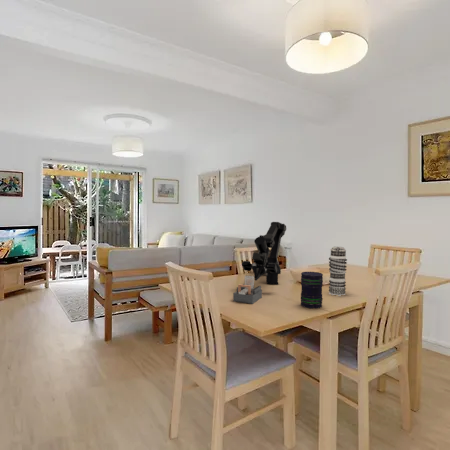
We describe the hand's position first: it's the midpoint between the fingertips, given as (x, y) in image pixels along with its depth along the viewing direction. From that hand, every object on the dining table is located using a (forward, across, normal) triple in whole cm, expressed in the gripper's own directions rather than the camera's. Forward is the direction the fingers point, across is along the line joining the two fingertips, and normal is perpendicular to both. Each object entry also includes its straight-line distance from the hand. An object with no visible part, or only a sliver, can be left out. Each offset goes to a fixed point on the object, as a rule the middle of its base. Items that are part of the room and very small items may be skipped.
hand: (255, 280), depth 172 cm
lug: (+13, 0, -8) cm, 15 cm away
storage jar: (+10, +30, +1) cm, 32 cm away
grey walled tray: (+13, 0, -2) cm, 13 cm away
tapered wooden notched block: (+11, 0, -7) cm, 14 cm away
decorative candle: (-9, +38, +21) cm, 44 cm away
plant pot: (-32, -14, +45) cm, 57 cm away
